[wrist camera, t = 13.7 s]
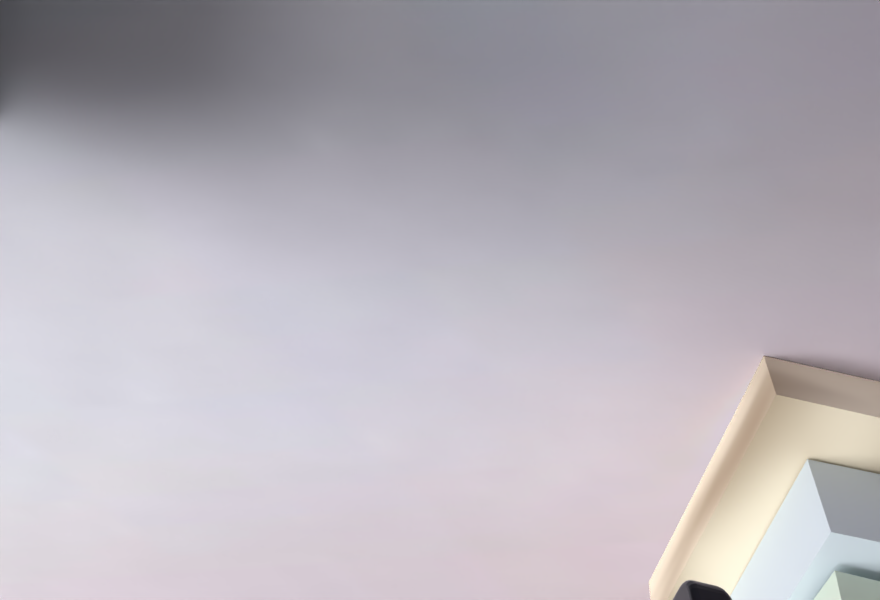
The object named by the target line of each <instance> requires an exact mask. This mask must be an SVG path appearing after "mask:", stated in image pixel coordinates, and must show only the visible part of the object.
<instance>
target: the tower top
mask: <svg viewBox="0 0 880 600" xmlns="http://www.w3.org/2000/svg"><path fill="white" fill-rule="evenodd" d="M834 571H839V572H843V573H847V574H851V575H856V576H860V577H864V578H868V579H872V580H876V581H880V474H877V473H872V472H867V471H862V470H857V469H852V468H848V467H843V466H838V465H833V464H828V463H823V462H818V461H814V460H809V459H807V461H806V462H805V464H804V466H803V468H802V470H801V471H800V473H799V475H798V477H797V478H796V480H795V482H794V484H793V485H792V487H791V489H790V491H789V493H788V494H787V496H786V498H785V500H784V501H783V503H782V505H781V507H780V509H779V510H778V512H777V514H776V516H775V517H774V519H773V521H772V523H771V525H770V526H769V528H768V530H767V532H766V533H765V535H764V537H763V539H762V541H761V542H760V544H759V546H758V548H757V549H756V551H755V553H754V555H753V557H752V558H751V560H750V562H749V564H748V565H747V567H746V569H745V571H744V572H743V574H742V576H741V578H740V580H739V581H738V583H737V585H736V587H735V588H734V590H733V592H732V594H731V596H730V597H731V599H732V600H814V598H815V597H816V595H817V594H818V593H819V591H820V590H821V589H822V587H823V586H824V585H825V583H826V582H827V580H828V579H829V578H830V576H831V575H832V574H833V572H834Z"/></svg>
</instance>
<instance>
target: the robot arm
mask: <svg viewBox="0 0 880 600" xmlns="http://www.w3.org/2000/svg"><path fill="white" fill-rule="evenodd" d="M673 600H732V599H731V597H730V596H729V594H728V593H727V592H726V591H725V590H724V589H722V588H721V587H718V586H715V585H711V584H707V583H702V582H698V581H694V580H687V581H685V582H684V583H682V585H681V586H680V587H679V589H678V591H677V593H676V595H675V596H674V598H673Z"/></svg>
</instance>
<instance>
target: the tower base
mask: <svg viewBox="0 0 880 600" xmlns="http://www.w3.org/2000/svg"><path fill="white" fill-rule="evenodd" d="M807 459H809V460H814V461H818V462H823V463H828V464H833V465H838V466H843V467H848V468H852V469H857V470H862V471H867V472H872V473H877V474H880V382H879V381H874V380H870V379H866V378H861V377H857V376H852V375H848V374H843V373H839V372H834V371H830V370H825V369H821V368H816V367H812V366H807V365H803V364H798V363H794V362H789V361H785V360H780V359H776V358H771V357H767V356H763V358H762V360H761V362H760V364H759V366H758V368H757V370H756V372H755V374H754V376H753V378H752V380H751V382H750V384H749V386H748V388H747V390H746V392H745V394H744V396H743V398H742V400H741V402H740V404H739V406H738V408H737V410H736V411H735V413H734V415H733V417H732V419H731V421H730V423H729V425H728V427H727V429H726V431H725V433H724V435H723V437H722V439H721V441H720V443H719V445H718V447H717V449H716V451H715V453H714V455H713V457H712V459H711V461H710V463H709V465H708V467H707V469H706V471H705V473H704V474H703V476H702V478H701V480H700V482H699V484H698V486H697V488H696V490H695V492H694V494H693V496H692V498H691V500H690V502H689V504H688V506H687V508H686V510H685V512H684V514H683V516H682V518H681V520H680V522H679V524H678V526H677V528H676V530H675V532H674V534H673V536H672V537H671V539H670V541H669V543H668V545H667V547H666V549H665V551H664V553H663V555H662V557H661V559H660V561H659V563H658V565H657V567H656V569H655V571H654V573H653V575H652V577H651V579H650V581H649V589H650V600H673V598H674V596H675V595H676V593H677V591H678V589H679V587H680V586H681V585H682V583H684V582H685V581H687V580H694V581H698V582H702V583H707V584H711V585H715V586H718V587H721V588H722V589H724V590H725V591H726V592H727V593H728V594H729V596H731V594H732V592H733V590H734V588H735V587H736V585H737V583H738V581H739V580H740V578H741V576H742V574H743V572H744V571H745V569H746V567H747V565H748V564H749V562H750V560H751V558H752V557H753V555H754V553H755V551H756V549H757V548H758V546H759V544H760V542H761V541H762V539H763V537H764V535H765V533H766V532H767V530H768V528H769V526H770V525H771V523H772V521H773V519H774V517H775V516H776V514H777V512H778V510H779V509H780V507H781V505H782V503H783V501H784V500H785V498H786V496H787V494H788V493H789V491H790V489H791V487H792V485H793V484H794V482H795V480H796V478H797V477H798V475H799V473H800V471H801V470H802V468H803V466H804V464H805V462H806V461H807Z"/></svg>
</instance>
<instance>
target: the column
mask: <svg viewBox="0 0 880 600" xmlns="http://www.w3.org/2000/svg"><path fill="white" fill-rule="evenodd" d="M814 600H880V581H876V580H872V579H868V578H864V577H860V576H856V575H851V574H847V573H843V572H839V571H834V572H833V574H832V575H831V576H830V578H829V579H828V580H827V582H826V583H825V585H824V586H823V587H822V589H821V590H820V591H819V593H818V594H817V595H816V597H815V598H814Z"/></svg>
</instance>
